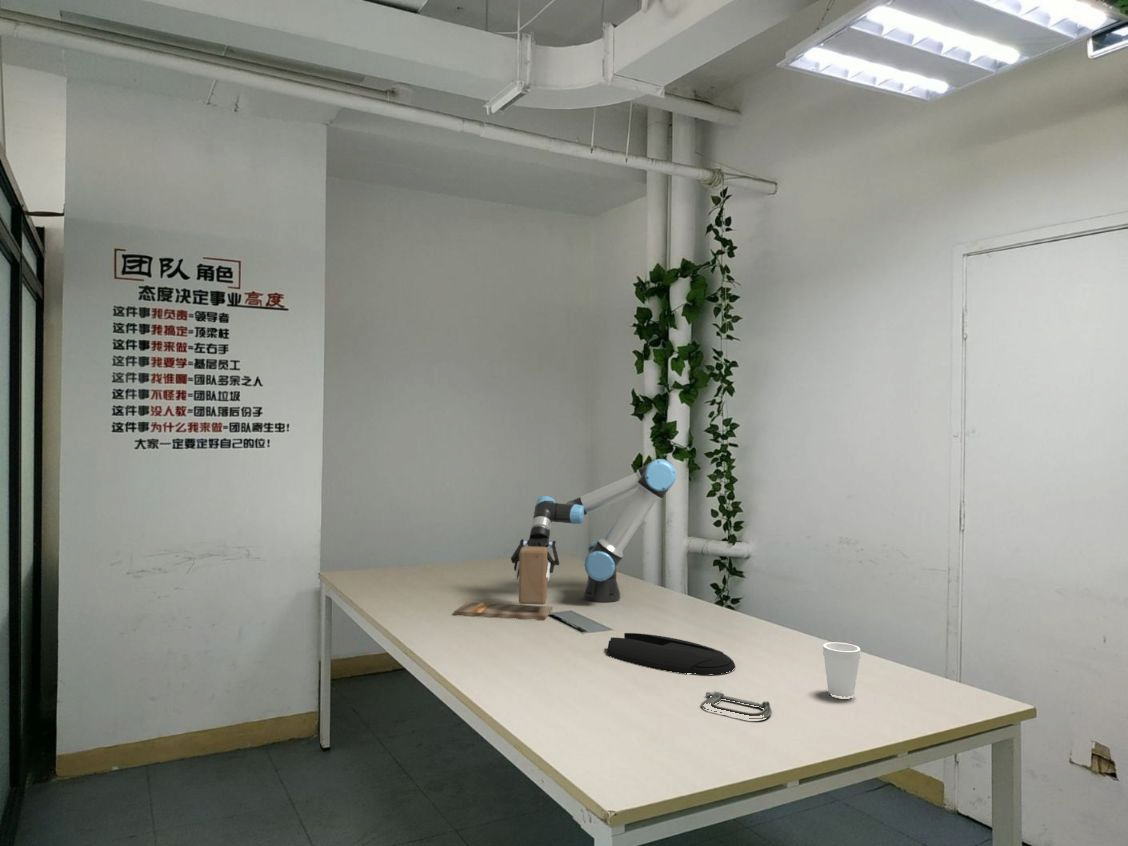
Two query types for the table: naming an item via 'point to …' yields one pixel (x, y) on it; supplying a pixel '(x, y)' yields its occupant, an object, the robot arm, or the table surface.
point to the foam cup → (841, 667)
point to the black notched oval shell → (669, 654)
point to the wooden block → (533, 575)
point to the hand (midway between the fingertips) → (531, 578)
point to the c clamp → (718, 696)
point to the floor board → (504, 610)
